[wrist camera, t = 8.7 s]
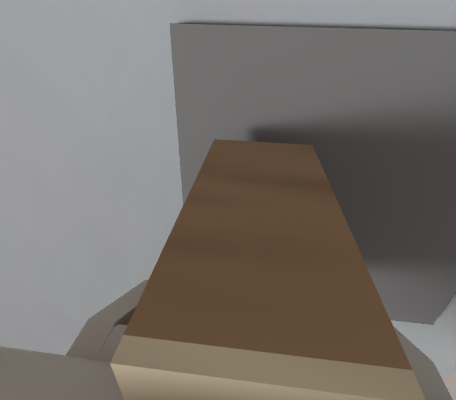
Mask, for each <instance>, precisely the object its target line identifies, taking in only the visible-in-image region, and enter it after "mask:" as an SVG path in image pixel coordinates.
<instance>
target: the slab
mask: <svg viewBox="0 0 456 400" xmlns="http://www.w3.org/2000/svg"><path fill="white" fill-rule="evenodd" d="M110 365H111V367H112V370H113V372H114V375H115V378H116V380H117V383H118V385H119V388H120V390H121V393H122V395H123V398H124V400H426V399H425V397H424V395H423V392H422V390H421V388H420V386H419V383H418V381H417V379H416V377H415V374H414V372H413V370H412V368H411V365H410V363H409V361H408V359H407V356H406V354H405V352H404V350H403V347H402V345H401V343H400V341H399V338H398V336H397V334H396V332H395V329H394V327H393V325H392V323H391V320H390V318H389V316H388V314H387V311H386V309H385V307H384V305H383V302H382V300H381V298H380V296H379V293H378V291H377V289H376V287H375V284H374V282H373V280H372V278H371V275H370V273H369V271H368V269H367V266H366V264H365V262H364V260H363V257H362V255H361V253H360V251H359V248H358V246H357V244H356V242H355V239H354V237H353V235H352V233H351V230H350V228H349V226H348V224H347V221H346V219H345V217H344V215H343V212H342V210H341V208H340V206H339V203H338V201H337V199H336V197H335V194H334V192H333V190H332V188H331V185H330V183H329V181H328V179H327V176H326V174H325V172H324V170H323V167H322V165H321V163H320V161H319V158H318V156H317V154H316V152H315V149H314V147H313V145H304V144H287V143H270V142H253V141H236V140H219V139H214V141H213V143H212V145H211V147H210V149H209V151H208V154H207V156H206V158H205V160H204V162H203V164H202V167H201V169H200V171H199V173H198V175H197V177H196V179H195V182H194V184H193V186H192V188H191V190H190V192H189V194H188V197H187V199H186V201H185V203H184V205H183V207H182V210H181V212H180V214H179V216H178V218H177V220H176V222H175V225H174V227H173V229H172V231H171V233H170V235H169V237H168V240H167V242H166V244H165V246H164V248H163V250H162V252H161V255H160V257H159V259H158V261H157V263H156V265H155V268H154V270H153V272H152V274H151V276H150V278H149V280H148V283H147V285H146V287H145V289H144V291H143V293H142V295H141V298H140V300H139V302H138V304H137V306H136V308H135V311H134V313H133V315H132V317H131V319H130V321H129V323H128V326H127V328H126V330H125V332H124V334H123V336H122V338H121V341H120V343H119V345H118V347H117V349H116V351H115V354H114V356H113V358H112V360H111V362H110Z"/></svg>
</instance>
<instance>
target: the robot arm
mask: <svg viewBox="0 0 456 400" xmlns="http://www.w3.org/2000/svg"><path fill="white" fill-rule="evenodd" d="M147 283H148V280H145V281H143V282H142V283H140V284H139V285H137V286H136V287H135V288H133V289H132V290H130V291H129V292H127V293H126V294H124V295H123V296H121V297H120V298H119V299H117V300H116V301H114V302H113V303H111V304H110V305H108V306H107V307H105V308H104V309H102V310H101V311H100V312H98V313H97V314H95V315H94V316H92V317H91V318H89V319H88V321H87V322H86V324H85V325H84V327H83V329H82V330H81V332H80V333H79V335H78V337H77V338H76V340H75V341H74V343H73V345H72V346H71V348H70V350H69V351H68V353H67V354H66V356H65V355H58V354H50V353H43V352H36V351H29V350H22V349H14V348H7V347H0V400H124V398H123V395H122V393H121V390H120V388H119V385H118V383H117V380H116V378H115V375H114V372H113V370H112V367H111V365H110V362H111V360H112V358H113V356H114V354H115V351H116V349H117V347H118V345H119V343H120V341H121V338H122V336H123V334H124V332H125V330H126V328H127V326H128V323H129V321H130V319H131V317H132V315H133V313H134V311H135V308H136V306H137V304H138V302H139V300H140V298H141V295H142V293H143V291H144V289H145V287H146V285H147ZM394 329H395V332H396V334H397V336H398V338H399V341H400V343H401V345H402V347H403V350H404V352H405V354H406V356H407V359H408V361H409V363H410V365H411V368H412V370H413V372H414V374H415V377H416V379H417V381H418V383H419V386H420V388H421V390H422V392H423V395H424V397H425V399H426V400H452V397H451V396H450V394H449V392H448V390H447V388H446V386H445V384H444V382H443V380H442V378H441V376H440V374H439V372H438V370H437V368H436V366H435V364H434V363H433V362H432V361H431V360H430V359H429V358H428V357H427V356H426V355H425V354H423V353H422V352H421V351H420V350H419V349H418V348H417V347H416V346H415V345H413V344H412V343H411V342H410V341H409V340H408V339H407V338H406V337H405V336H403V335H402V334H401V333H400V332H399V331H398V330H397V329H396V328H395V327H394Z"/></svg>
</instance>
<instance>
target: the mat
mask: <svg viewBox="0 0 456 400" xmlns="http://www.w3.org/2000/svg"><path fill="white" fill-rule="evenodd" d="M170 33H171V47H172V60H173V73H174V87H175V100H176V113H177V126H178V140H179V153H180V166H181V180H182V193H183V205H184V203H185V201H186V199H187V197H188V194H189V192H190V190H191V188H192V186H193V184H194V182H195V179H196V177H197V175H198V173H199V171H200V169H201V167H202V164H203V162H204V160H205V158H206V156H207V154H208V151H209V149H210V147H211V145H212V143H213V141H214V139H219V140H236V141H253V142H270V143H287V144H304V145H313V147H314V149H315V152H316V154H317V156H318V158H319V161H320V163H321V165H322V167H323V170H324V172H325V174H326V176H327V179H328V181H329V183H330V185H331V188H332V190H333V192H334V194H335V197H336V199H337V201H338V203H339V206H340V208H341V210H342V212H343V215H344V217H345V219H346V221H347V224H348V226H349V228H350V230H351V233H352V235H353V237H354V239H355V242H356V244H357V246H358V248H359V251H360V253H361V255H362V257H363V260H364V262H365V264H366V266H367V269H368V271H369V273H370V275H371V278H372V280H373V282H374V284H375V287H376V289H377V291H378V293H379V296H380V298H381V300H382V302H383V305H384V307H385V309H386V311H387V314H388V316H389V318H390V320H396V321H405V322H413V323H422V324H431V325H433V324H434V322H435V321H436V319H437V318H438V316H439V315H440V314H441V312H442V311H443V309H444V308H445V306H446V305H447V304H448V302H449V301H450V299H451V298H452V296H453V295H454V294H455V292H456V31H439V30H401V29H363V28H325V27H286V26H248V25H210V24H172V23H170Z"/></svg>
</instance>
